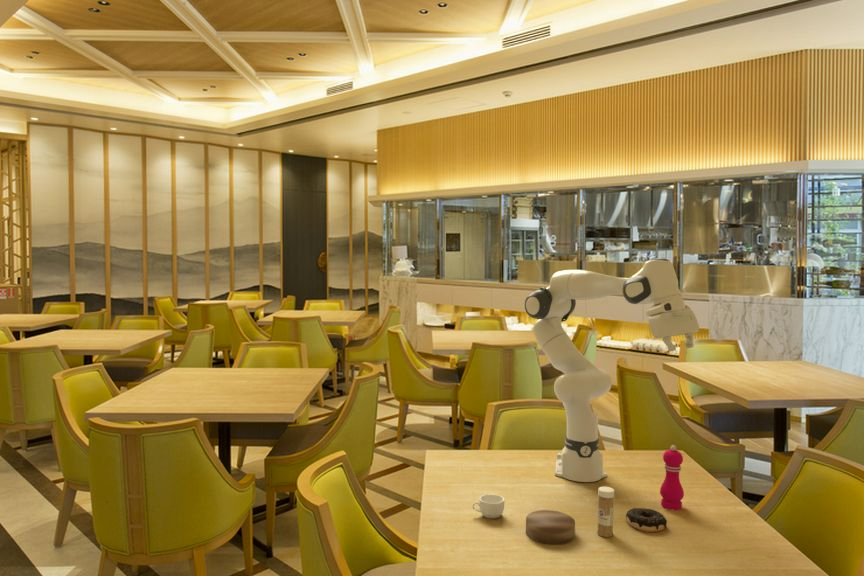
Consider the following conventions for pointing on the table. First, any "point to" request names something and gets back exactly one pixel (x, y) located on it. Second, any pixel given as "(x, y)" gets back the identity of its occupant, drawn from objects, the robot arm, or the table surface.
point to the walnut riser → (550, 527)
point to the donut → (646, 519)
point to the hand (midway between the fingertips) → (681, 349)
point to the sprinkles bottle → (605, 511)
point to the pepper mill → (672, 480)
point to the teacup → (490, 505)
